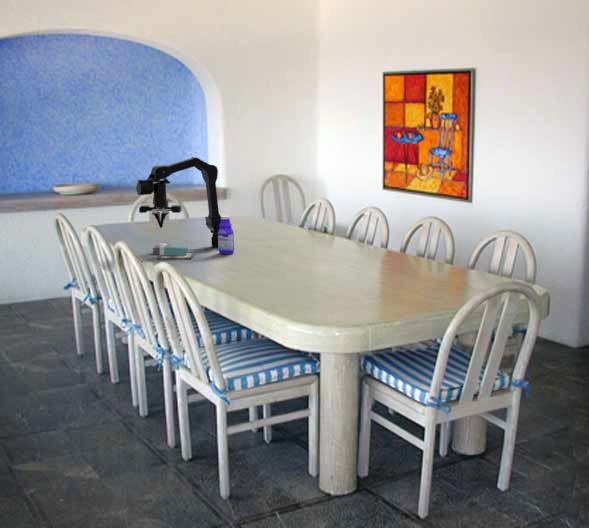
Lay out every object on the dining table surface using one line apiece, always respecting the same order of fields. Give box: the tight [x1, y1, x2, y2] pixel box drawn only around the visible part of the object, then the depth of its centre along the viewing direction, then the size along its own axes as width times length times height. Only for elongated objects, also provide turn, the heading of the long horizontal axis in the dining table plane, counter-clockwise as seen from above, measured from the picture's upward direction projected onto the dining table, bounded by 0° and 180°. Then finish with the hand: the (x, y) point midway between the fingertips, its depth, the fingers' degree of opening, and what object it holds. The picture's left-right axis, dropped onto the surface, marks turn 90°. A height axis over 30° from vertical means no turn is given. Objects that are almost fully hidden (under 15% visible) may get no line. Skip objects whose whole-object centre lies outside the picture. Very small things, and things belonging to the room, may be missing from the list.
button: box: [156, 243, 167, 247], centre depth 357 cm, size 4×4×3 cm
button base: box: [152, 244, 172, 255], centre depth 357 cm, size 7×7×3 cm
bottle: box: [217, 215, 235, 255], centre depth 353 cm, size 7×6×17 cm
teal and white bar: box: [160, 245, 189, 256], centre depth 347 cm, size 12×4×4 cm, turn 90°
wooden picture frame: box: [156, 252, 195, 260], centre depth 347 cm, size 15×11×1 cm
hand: (161, 227), depth 355 cm, fingers closed
